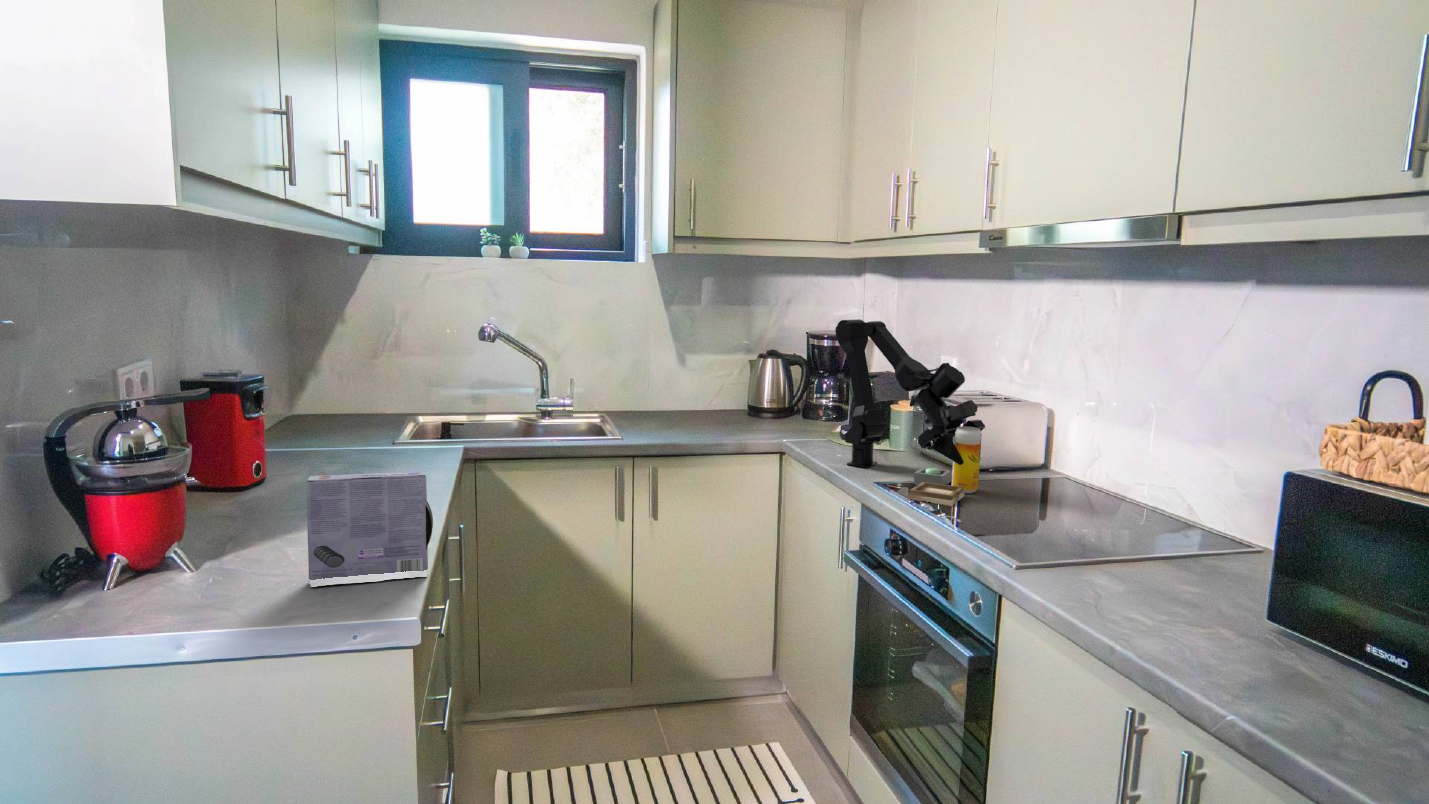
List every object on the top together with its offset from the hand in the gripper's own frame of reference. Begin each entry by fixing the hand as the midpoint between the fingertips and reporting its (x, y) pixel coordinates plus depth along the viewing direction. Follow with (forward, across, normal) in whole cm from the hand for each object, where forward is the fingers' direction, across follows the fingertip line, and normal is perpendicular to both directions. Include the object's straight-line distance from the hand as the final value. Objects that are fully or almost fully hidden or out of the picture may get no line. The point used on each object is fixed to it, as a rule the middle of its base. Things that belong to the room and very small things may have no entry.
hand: (970, 462), depth 203 cm
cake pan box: (-7, -131, +18) cm, 132 cm away
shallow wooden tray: (+5, -11, +5) cm, 13 cm away
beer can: (+4, 0, +6) cm, 7 cm away
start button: (-3, -1, +11) cm, 12 cm away
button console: (-2, -1, +12) cm, 12 cm away
